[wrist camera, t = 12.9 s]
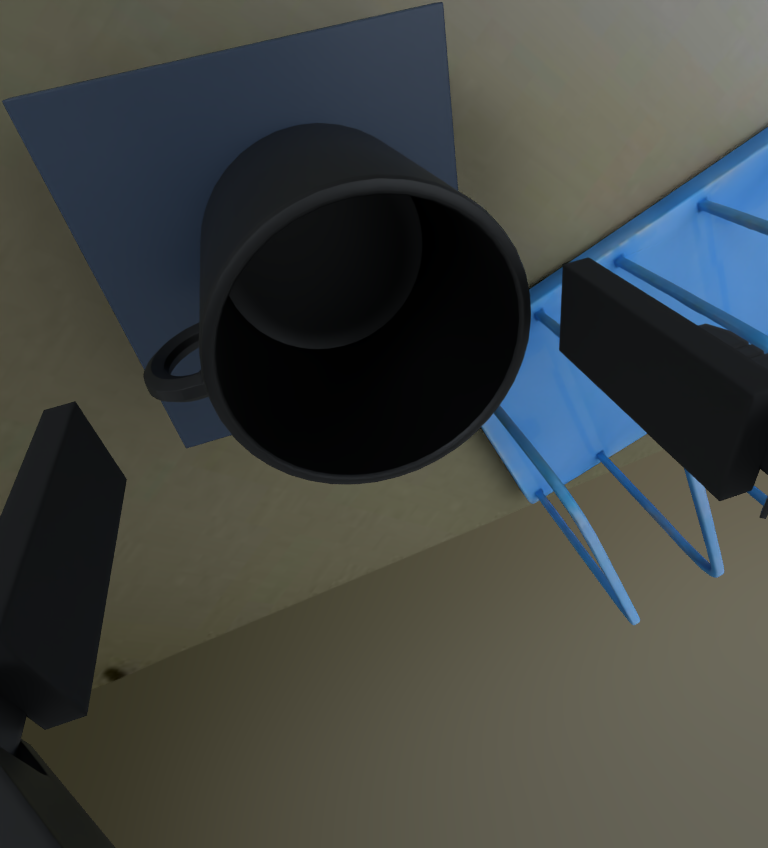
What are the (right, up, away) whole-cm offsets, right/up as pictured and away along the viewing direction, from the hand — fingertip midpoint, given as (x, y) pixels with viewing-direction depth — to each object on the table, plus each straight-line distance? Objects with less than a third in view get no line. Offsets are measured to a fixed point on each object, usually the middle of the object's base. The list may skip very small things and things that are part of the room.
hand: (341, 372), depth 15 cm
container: (-5, +10, +14) cm, 17 cm away
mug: (-3, +5, +8) cm, 10 cm away
